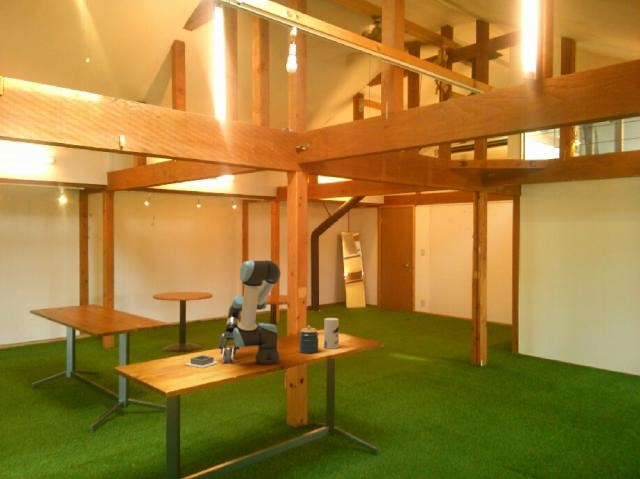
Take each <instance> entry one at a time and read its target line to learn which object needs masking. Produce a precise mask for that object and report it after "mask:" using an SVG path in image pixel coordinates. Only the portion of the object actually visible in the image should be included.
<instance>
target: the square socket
mask: <svg viewBox="0 0 640 479" xmlns="http://www.w3.org/2000/svg"><path fill="white" fill-rule="evenodd" d="M219 363H220V362H219V361H216V360H214V356H208V355H203V354H202V355H198V356H193V357H191V358H190V362H186V363H184V366H186V365H187V367H191V368H199V369H205V368H208V367H211V366H215V365H217V364H219Z"/></svg>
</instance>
